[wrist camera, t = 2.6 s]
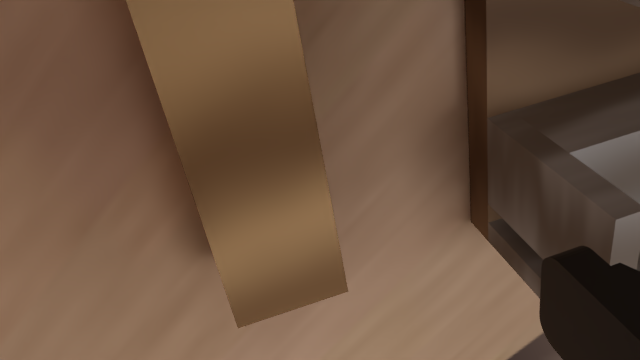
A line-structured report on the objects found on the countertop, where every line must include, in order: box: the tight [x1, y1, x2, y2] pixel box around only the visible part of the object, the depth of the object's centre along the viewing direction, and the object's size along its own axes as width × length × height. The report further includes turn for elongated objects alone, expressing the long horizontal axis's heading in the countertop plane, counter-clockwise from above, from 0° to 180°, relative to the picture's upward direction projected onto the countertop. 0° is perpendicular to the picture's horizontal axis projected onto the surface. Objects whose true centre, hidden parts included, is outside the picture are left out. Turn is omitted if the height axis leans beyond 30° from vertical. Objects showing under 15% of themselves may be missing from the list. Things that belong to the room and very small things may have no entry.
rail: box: [126, 0, 348, 328], centre depth 19 cm, size 13×4×4 cm, turn 10°
